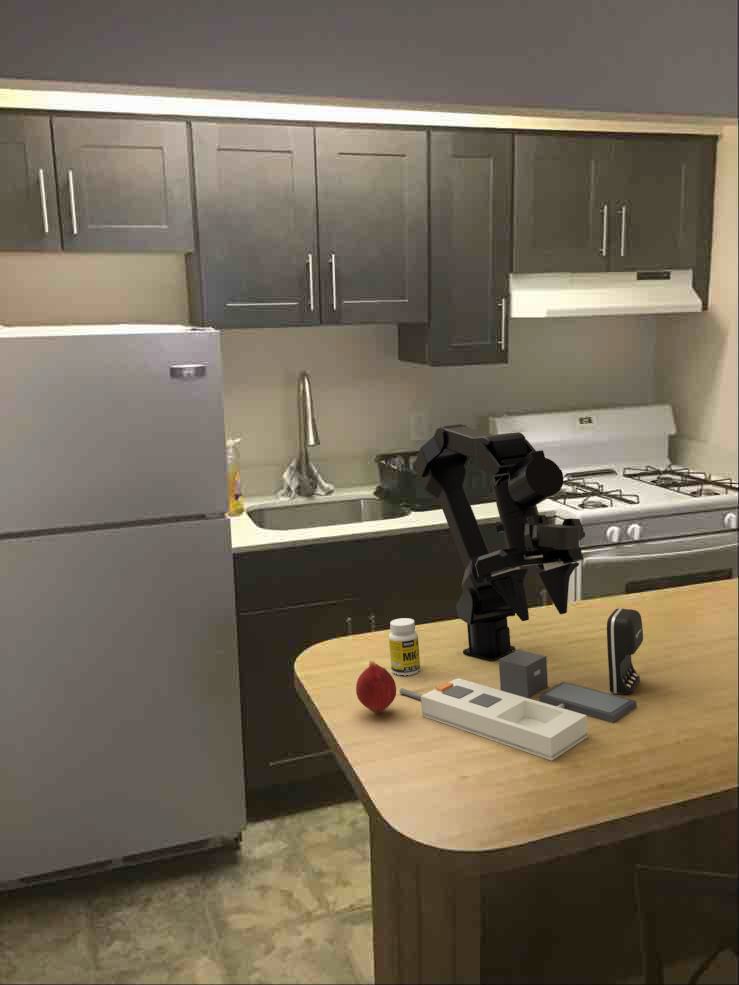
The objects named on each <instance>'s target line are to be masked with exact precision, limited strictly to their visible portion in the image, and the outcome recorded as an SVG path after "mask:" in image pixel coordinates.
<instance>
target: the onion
mask: <svg viewBox="0 0 739 985" xmlns="http://www.w3.org/2000/svg"><path fill="white" fill-rule="evenodd" d="M355 686H356V687H355V693H356V697H357V699H358V700H359V702H360V703H361V704H362V705H363V707H364V708H367V709H369V711H372V712H373V713H374V714H376V715H377V714H380V713H382V712H383V711H385V710H386V709H387V708H388V707H389V706H390V705H391V704H393V702H394V700H395V698H396V696H397V685H396V682H395V680H394V678H393V675H391V674H390V672H389V671H388V670H387V669H386V668H385V667H383V666H380V665H379V664H378V663H376V662H375V660H373V659H369V664H368V667H366V668H365V669H364V670H363V671H362V673H361V674H359V676H358V678H357V681H356V684H355Z"/></svg>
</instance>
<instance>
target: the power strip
mask: <svg viewBox="0 0 739 985" xmlns="http://www.w3.org/2000/svg"><path fill="white" fill-rule="evenodd" d="M399 694H401V695H403V696H407V697H410V698H414V699H417V700H419V701H420V702H421V716H422V717H424V718H427V719H431V720H433V721H436V722H439V723H442V724H445V725H447V726H449V727H450V726H451V727H453V728H455V729H458V730H462V731H465V732H466V733H467V732H468V733H470V734H473V735H477V736H479V737H482V738H485V739H487V740H491V741H493V742H497V743H500V744H502V745H505V746H508V747H511V748H513V749H516V750H520V751H522V752H526V753H528V754H531V755H535V756H536V757H539V758H542V759H546V760H549V761H554V760H555V759H557V758H558V757H560V756H561V755H563V754H564V753H566V752H567V751H569V750H570V749H572V748H573V747H575V746H576V745H578V744H579V743H581V742H583V740H585V739H587V738H588V717H587V716H588V715H585V714H581V713H578V712H574V711H571V710H567V709H563V708H560V707H557V706H553V705H550V704H547V703H543V702H540V701H538V700H534V699H531V698H525V697H522V696H518V695H515V694H511V693H508V692H504V691H501V689H497V688H493V687H490V686H487V685H483V684H480V683H476V682H472V681H470V680H465V679H463V678H459V677H458V678H455V679H453V680H451V681H445V682H444V683H442V684H440V685H438V686H436V687H435V688H434V689H432V690H430V691H429V692H426V693H425V694H421V693H417V692H415V691H412V690H408V689H406V688H400V689H399Z"/></svg>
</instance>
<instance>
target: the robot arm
mask: <svg viewBox="0 0 739 985" xmlns="http://www.w3.org/2000/svg"><path fill="white" fill-rule="evenodd" d="M470 458H471V459H472V460H475V466H476V467H477V468H478V469H479V470H481V471H482V472H483V473H485V474H486V475H493V478H492V482H491V483H490V485H489V487H488V494H490V495H491V494H493V495H494V500H495V504H496V507H497V508H496V509H497V513H498V515H499V519H500V523H501V524H499V525H496V526H495V528H496V532H497V534H499V533H503V537H504V540H505V543H506V548H504V549H503V548H502V549H499V550H496V551H493V552H490V551H489V549H488V546H487V543H486V540H485V538H484V536H483V533H482V530H481V528H480V525H479V523H478V520H477V518H476V516H475V513H474V510H473V508H472V506H471V503H470V501H469V499H468V495H467V493H466V490H465V488H464V484H465V478H466V474H467V468H466V467H467V465H468V462H469V460H470ZM414 467H415V473H416V475H417V477H418V478H419V479H420V481H421V484H422V485H423V488H424V489H425V490H426V491H427V492H428V493H429V494H431V495H432V496H434V497H436V499H437V500H438V501H439V504H440V507H441V508H442V509H441V510H442V512H443V514H444V517H445V521H446V523H447V525H448V528H449V531H450V534H451V535H452V539H453V542H454V543H455V547H456V549H457V553H458V554H459V557H460V560H461V562H462V566H463V567H464V568H463V569H464V575H463V578H462V583H461V590H462V591H461V592H462V593H461V595H460V597H459V599H458V601H457V603H456V606H455V608H456V613H457V617H458V619H460V620H461V621H463V622H465V624H466V626H467V639H468V640H467V642H468V648H465V649H463V650H462V653H463V655H468V656H472V657H476V658H480V659H483V660H487V661H494V660H497V659H500V658H502V657H504V656H506V655H508V654H510V653H512V652H513V651H515V650H516V646H514V645H511V634H510V627H509V626H508V617H515V616H517V617H518V618H519V619H520V621H522V622H526V621H529V620H530V614H529V605H528V600H527V597H526V590H525V586H524V580H525V578H526V575H527V572H528V568H525V567H530V566H537V567H538V568H539V569H541V570H542V571H539V572H538V576H539V577H540V579H541V581H542V583H543V585H544V587H545V589H546V592H547V593H548V595H549V597H550V599H551V602H552V603H553V604H554V607H555V609H556V610H557V612H558V613H559V615H564V614H567V613H568V605H569V604H568V603H569V601H568V600H569V585H570V578H571V575H572V574H573V572H574V570H575V569H576V568H577V567H579V565H580V562H579V561H583V560H584V556H583V552H582V549H581V547H580V541H583V539H584V538H585V537H586V533H585V532H586V531H585V530H584V526H583V524H582V521H581V520H580V519H581V518H574V517H573V518H572V517H571V518H568V517H567V518H564V520H563V521H562V524H560V523H559V524H558V523H557V524H554V523H553V524H552V523H551V524H550V522H549V518H548V517H547V516H546V514H540V513H539V510H538V505H539V504H541V503H542V502H545V501H546V500H548V499H550V498H551V497H553V496H555V495H557V494H558V493H559V492H560V491H561V489H562V487H563V484H564V474H563V473H564V472H563V471H562V470H561V468H560V467H559V465H557V463H556V462H555V461H553V460H552V459H550V458H547V457H545V453H544V450H543V449H541V450H536V449H535V447H534V446H533V445H532V444H531V443H530V442H529V440H527V439H526V436H525V435H524V434H523V433H522V432H515V431H514V432H508V433H507V432H505V433H495V434H492V433H489V432H485V431H482V430H478V429H475V428H471V427H468V426H467V425H465V424H462V423H460V424H451V425H442V426H440V427H437V429H435V432H434V434H433V436H432V437H431V438H430V439H428V441H426V442H425V443H424V444H423V445H422V446H421V447H420V448H419V451H418V454H417V456H416V459H415V462H414ZM503 474H504V475H503ZM496 475H497V476H496ZM522 567H524V568H522ZM514 649H515V650H514ZM512 650H513V651H512Z"/></svg>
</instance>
